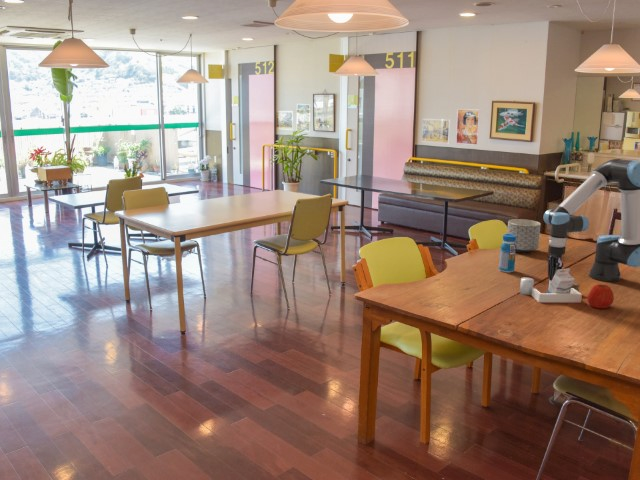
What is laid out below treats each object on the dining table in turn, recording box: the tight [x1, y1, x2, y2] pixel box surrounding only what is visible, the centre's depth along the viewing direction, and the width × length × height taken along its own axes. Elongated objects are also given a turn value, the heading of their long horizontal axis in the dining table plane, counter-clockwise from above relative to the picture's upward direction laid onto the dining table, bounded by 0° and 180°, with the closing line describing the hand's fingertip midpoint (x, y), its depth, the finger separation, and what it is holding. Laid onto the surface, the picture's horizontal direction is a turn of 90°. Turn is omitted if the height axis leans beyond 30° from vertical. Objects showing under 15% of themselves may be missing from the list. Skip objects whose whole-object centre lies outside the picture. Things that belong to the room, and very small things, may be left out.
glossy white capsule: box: [519, 276, 535, 296], centre depth 296 cm, size 6×6×7 cm
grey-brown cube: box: [568, 282, 580, 293], centre depth 297 cm, size 5×5×5 cm
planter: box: [506, 218, 542, 254], centre depth 374 cm, size 19×19×18 cm
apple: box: [587, 283, 615, 309], centre depth 278 cm, size 11×11×11 cm
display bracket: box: [531, 287, 583, 303], centre depth 288 cm, size 20×9×4 cm, turn 92°
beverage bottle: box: [498, 233, 517, 273], centre depth 331 cm, size 8×8×20 cm
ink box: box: [546, 267, 576, 293], centre depth 286 cm, size 8×5×15 cm, turn 112°
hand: (551, 292), depth 293 cm, fingers closed
